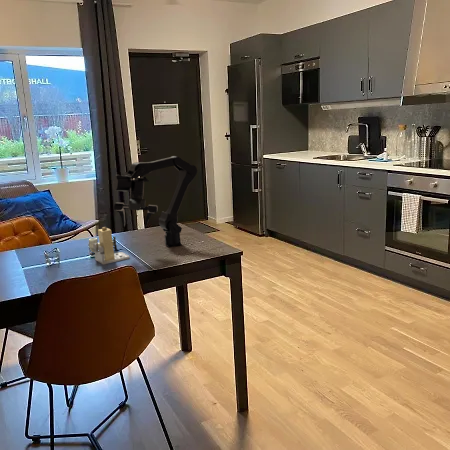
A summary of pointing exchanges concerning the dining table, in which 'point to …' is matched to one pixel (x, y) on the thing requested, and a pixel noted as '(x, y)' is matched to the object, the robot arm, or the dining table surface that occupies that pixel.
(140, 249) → the dining table surface
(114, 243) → the valve
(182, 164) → the robot arm
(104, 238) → the loose leaf
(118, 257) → the fixed leaf
